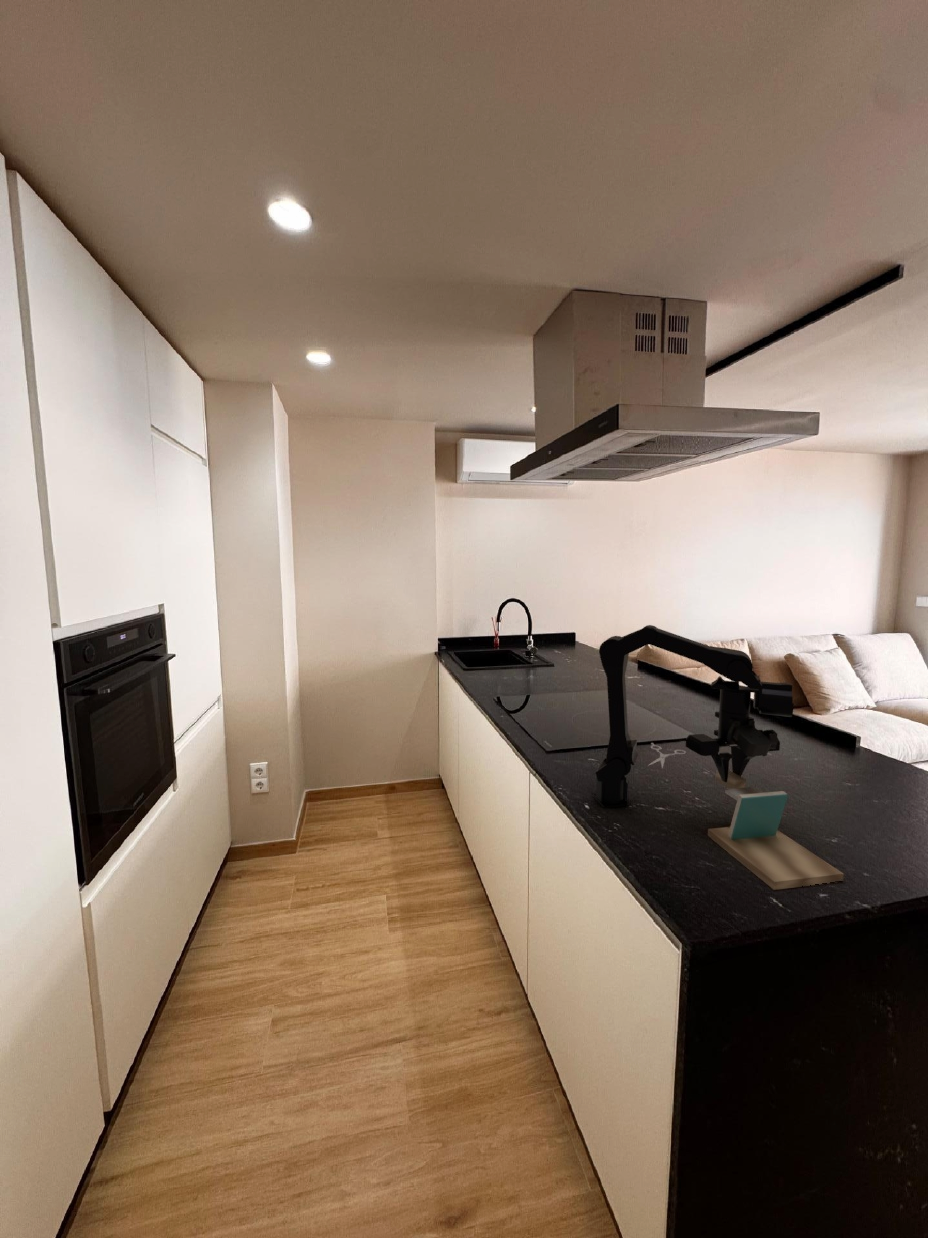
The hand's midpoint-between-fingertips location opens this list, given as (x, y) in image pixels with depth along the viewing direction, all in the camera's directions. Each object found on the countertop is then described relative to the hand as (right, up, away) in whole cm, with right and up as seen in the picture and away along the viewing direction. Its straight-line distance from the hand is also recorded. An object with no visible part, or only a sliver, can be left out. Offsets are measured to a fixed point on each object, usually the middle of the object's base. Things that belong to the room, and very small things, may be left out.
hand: (730, 781), depth 109 cm
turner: (0, -1, -2) cm, 3 cm away
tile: (+1, -4, -8) cm, 9 cm away
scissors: (+1, -7, +40) cm, 41 cm away
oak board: (+2, -11, -11) cm, 16 cm away
